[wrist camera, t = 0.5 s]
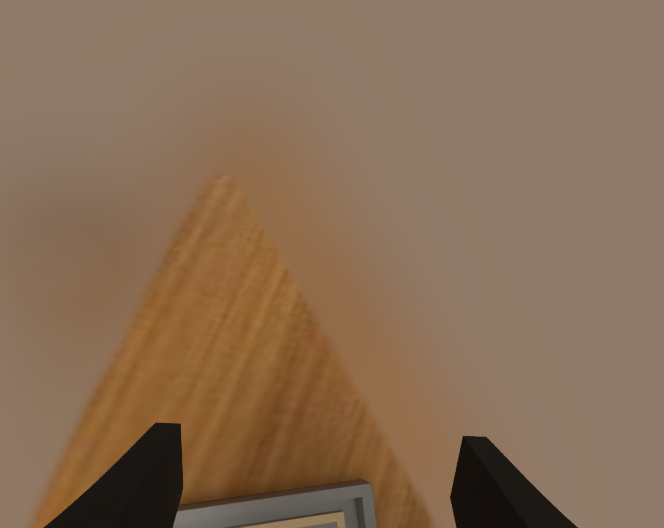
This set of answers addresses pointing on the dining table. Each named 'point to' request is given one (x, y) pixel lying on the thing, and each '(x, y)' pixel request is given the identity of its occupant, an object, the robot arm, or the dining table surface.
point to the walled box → (287, 509)
